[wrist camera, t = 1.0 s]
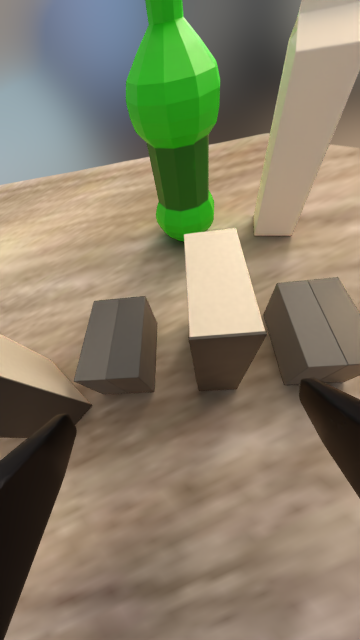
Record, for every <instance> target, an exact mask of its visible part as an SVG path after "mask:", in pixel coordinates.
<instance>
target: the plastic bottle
mask: <svg viewBox="0 0 360 640" xmlns="http://www.w3.org/2000/svg"><path fill="white" fill-rule="evenodd" d="M145 1H146V8H147V15H148V22H149V26H148V28H147V30H146V33H145V35H144V37H143V40H142V42H141V44H140V47H139V49H138V51H137V54H136V56H135V59H134V62H133V64H132V67H131V70H130V73H129V75H128V78H127V81H126V103H127V108H128V112H129V116H130V119H131V122H132V124H133V126H134V128H135V131H136V133H137V134H138V135H139V136H140V137H141V138H142V139H143V140H144V141H145V142H147V146H148V151H149V156H150V161H151V166H152V171H153V175H154V180H155V185H156V190H157V195H158V200H159V203H158V206H157V212H156V218H157V222H158V224H159V225H160V227H161V228H162V229H163V230H164V231H165V232H166V234H167V235H168V236H170V237H171V238H174V239H177V240H178V241H183V242H184V234H190V233H198V232H205V231H206V230H207V229H208V228H209V227H210V226H211V224H212V222H213V218H214V200H213V198H212V195H211V193H210V191H209V190H208V134H209V133H210V131H211V129H212V128H213V127H214V125H215V123H216V120H217V115H218V109H219V96H220V77H219V72H218V67H217V62H216V60H215V58H214V57H213V55H212V54H211V53H210V51H209V50H208V48H207V47H206V45H205V44H204V42H203V41H202V40H201V38H200V37H199V36H198V34H197V33H196V32H195V31H194V29H193V28H192V27H191V26H190V24H189V23H188V22H187V21H186V20H185V18H184V17H183V4H182V0H145Z"/></svg>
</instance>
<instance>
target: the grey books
mask: <svg viewBox="0 0 360 640" xmlns="http://www.w3.org/2000/svg"><path fill="white" fill-rule="evenodd" d="M264 317H265V321H266V324H267V328H268V331H269V335H270V338H271V341H272V345H273V348H274V352H275V355H276V358H277V362H278V365H279V369H280V372H281V375H282V379H283V382H284V385H293V384H300V381H301V380H302V379H304V378H311V377H313V378H316V379H318V380H320V381H322V382H324V383H331V382H345V381H347V380H350V379H352V378H354V377H357V376H359V375H360V313H359V311H358V310H357V308H356V306H355V305H354V303H353V301H352V300H351V298H350V296H349V295H348V293H347V291H346V290H345V288H344V286H343V285H342V283H341V281H340V280H339V278H338V277H335V278H325V279H314V280H304V281H294V282H284V283H277V285H276V287H275V289H274V291H273V294H272V296H271V298H270V300H269V303H268V305H267V307H266V310H265V312H264ZM156 340H157V322H156V319H155V317H154V315H153V313H152V310H151V308H150V306H149V303H148V301H147V299H146V297H145V296H141V297H131V298H120V299H110V300H100V301H94V303H93V307H92V311H91V315H90V319H89V323H88V327H87V331H86V335H85V338H84V342H83V346H82V350H81V354H80V358H79V362H78V366H77V370H76V374H75V378H74V382H76V383H79V384H81V385H83V386H86V387H88V388H90V389H92V390H95V391H97V392H99V393H102V394H122V393H141V392H154V389H155V364H156Z"/></svg>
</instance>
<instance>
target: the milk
mask: <svg viewBox="0 0 360 640" xmlns="http://www.w3.org/2000/svg"><path fill="white" fill-rule="evenodd" d="M359 70H360V0H301V4H300V9H299V14H298V17H297V20H296V22H295V25H294V28H293V31H292V34H291V36H290V39H289V43H288V48H287V53H286V58H285V62H284V68H283V72H282V77H281V82H280V87H279V92H278V97H277V102H276V107H275V113H274V117H273V122H272V127H271V132H270V137H269V142H268V147H267V152H266V157H265V162H264V167H263V172H262V177H261V181H260V186H259V191H258V196H257V201H256V206H255V211H254V235H255V236H292V234H293V232H294V229H295V227H296V224H297V222H298V220H299V217H300V215H301V212H302V210H303V207H304V205H305V202H306V200H307V198H308V195H309V193H310V190H311V188H312V185H313V183H314V180H315V178H316V176H317V173H318V171H319V168H320V166H321V163H322V161H323V158H324V156H325V154H326V151H327V149H328V146H329V144H330V141H331V139H332V136H333V134H334V132H335V129H336V127H337V124H338V122H339V119H340V117H341V114H342V112H343V110H344V107H345V104H346V102H347V100H348V97H349V94H350V92H351V90H352V88H353V85H354V83H355V80H356V78H357V75H358V73H359Z"/></svg>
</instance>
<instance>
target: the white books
mask: <svg viewBox="0 0 360 640" xmlns="http://www.w3.org/2000/svg"><path fill="white" fill-rule="evenodd" d="M91 406H92V404H90V403H89V402H88V401H87V399H86V398H85V397H84V396H83V395H82V394H81V393H80V392H79V391H78V390H77V388H76V387H75V386H74V385H73V384H72V383H71V382H70V381H69V380H68V378H67V377H66V376H65V375H64V374H63V373H62V372H61V371H60V370H59V368H58V367H57V366H56V365H55V364H54V363H53V362H52V361H51V360H50V359H48V358H46V357H44V356H42V355H40V354H38V353H36V352H34V351H32V350H30V349H28V348H26V347H24V346H22V345H21V344H19V343H17V342H15V341H13V340H11V339H9V338H7V337H5V336H3V335H1V334H0V438H29V437H30V436H31V435H32V434H34V433H35V432H36V431H37V430H39V429H40V428H41V427H42V426H44V425H45V424H46V423H47V422H48V421H50V420H51V419H52V418H53V417H55V416H56V415H59V414H69V415H70V417H71V419H72V421H73V423H74V425H75V424H76V423H77V422H78V421H79V420H80V419H81V418H82V416H83V415H84V414H85V413H86V412H87V411H88V410H89V409H90V408H91Z"/></svg>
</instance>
